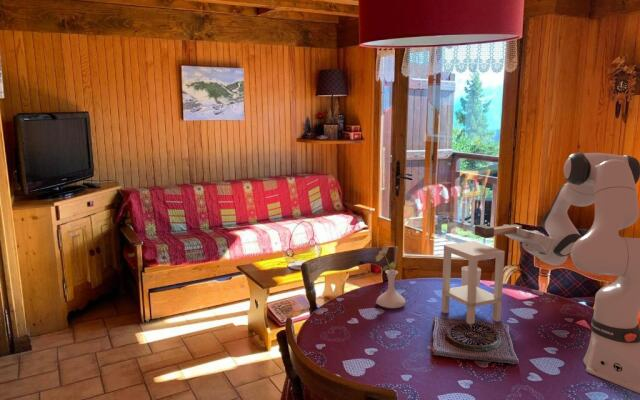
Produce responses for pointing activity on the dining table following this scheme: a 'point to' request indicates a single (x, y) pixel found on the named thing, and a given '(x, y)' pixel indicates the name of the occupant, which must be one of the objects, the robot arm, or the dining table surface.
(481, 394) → the dining table surface
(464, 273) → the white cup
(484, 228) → the mallet
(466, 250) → the shelf stand
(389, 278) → the flower in vase
